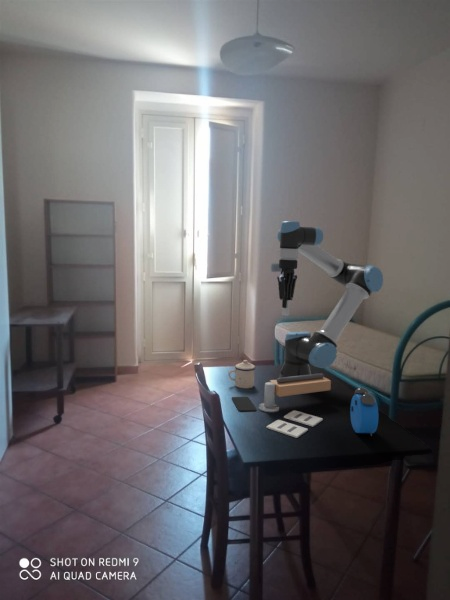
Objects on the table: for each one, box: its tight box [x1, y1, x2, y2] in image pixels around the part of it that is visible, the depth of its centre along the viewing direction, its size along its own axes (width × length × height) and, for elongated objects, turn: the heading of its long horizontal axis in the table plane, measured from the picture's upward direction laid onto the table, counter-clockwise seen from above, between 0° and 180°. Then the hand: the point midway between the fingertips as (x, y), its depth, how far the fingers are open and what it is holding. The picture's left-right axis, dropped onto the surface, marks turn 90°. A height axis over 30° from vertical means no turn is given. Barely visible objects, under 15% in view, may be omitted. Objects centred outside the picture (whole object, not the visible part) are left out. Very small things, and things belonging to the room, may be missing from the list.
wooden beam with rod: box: [263, 372, 332, 408], centre depth 179 cm, size 28×8×11 cm, turn 114°
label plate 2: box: [283, 409, 324, 427], centre depth 166 cm, size 8×12×1 cm, turn 52°
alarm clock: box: [349, 386, 379, 437], centre depth 156 cm, size 13×6×15 cm, turn 0°
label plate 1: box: [266, 419, 309, 439], centre depth 157 cm, size 8×12×1 cm, turn 52°
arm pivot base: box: [258, 402, 280, 414], centre depth 175 cm, size 8×8×1 cm
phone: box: [231, 396, 257, 413], centre depth 179 cm, size 7×1×15 cm
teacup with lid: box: [227, 359, 256, 389], centre depth 200 cm, size 12×9×12 cm
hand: (285, 315), depth 187 cm, fingers closed
